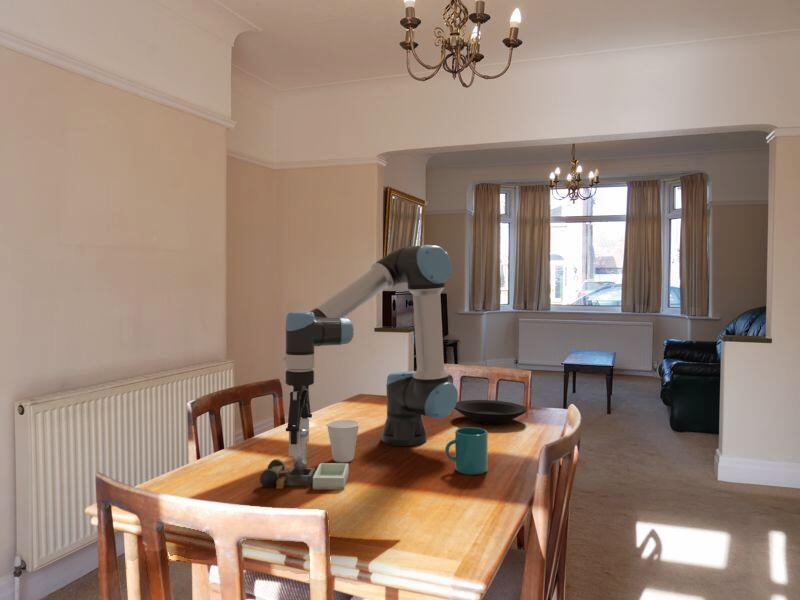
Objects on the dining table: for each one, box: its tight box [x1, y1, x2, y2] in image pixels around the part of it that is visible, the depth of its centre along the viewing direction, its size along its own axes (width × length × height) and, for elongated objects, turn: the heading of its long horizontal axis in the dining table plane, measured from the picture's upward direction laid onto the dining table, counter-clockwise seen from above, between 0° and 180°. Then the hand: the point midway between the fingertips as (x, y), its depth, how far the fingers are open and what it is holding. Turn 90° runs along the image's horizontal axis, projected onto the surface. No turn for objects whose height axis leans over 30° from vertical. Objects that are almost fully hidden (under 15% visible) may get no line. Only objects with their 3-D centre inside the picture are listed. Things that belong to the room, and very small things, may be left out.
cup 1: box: [325, 419, 360, 464], centre depth 179 cm, size 10×10×11 cm
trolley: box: [259, 458, 316, 490], centre depth 160 cm, size 13×11×4 cm
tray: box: [312, 462, 350, 491], centre depth 160 cm, size 8×12×3 cm, turn 179°
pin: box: [293, 428, 310, 475], centre depth 160 cm, size 4×4×14 cm
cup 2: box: [444, 426, 489, 476], centre depth 169 cm, size 9×12×11 cm
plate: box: [453, 399, 527, 426], centre depth 227 cm, size 28×24×6 cm
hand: (299, 448), depth 160 cm, fingers open, 13 cm apart
